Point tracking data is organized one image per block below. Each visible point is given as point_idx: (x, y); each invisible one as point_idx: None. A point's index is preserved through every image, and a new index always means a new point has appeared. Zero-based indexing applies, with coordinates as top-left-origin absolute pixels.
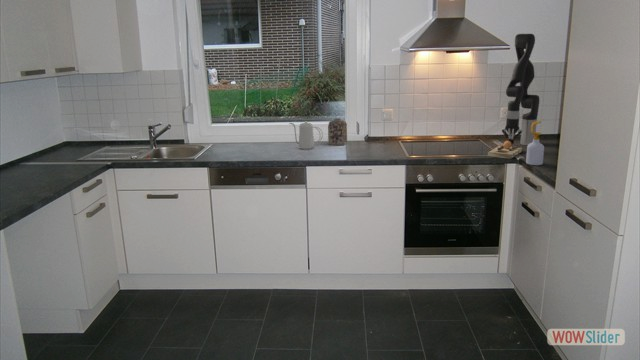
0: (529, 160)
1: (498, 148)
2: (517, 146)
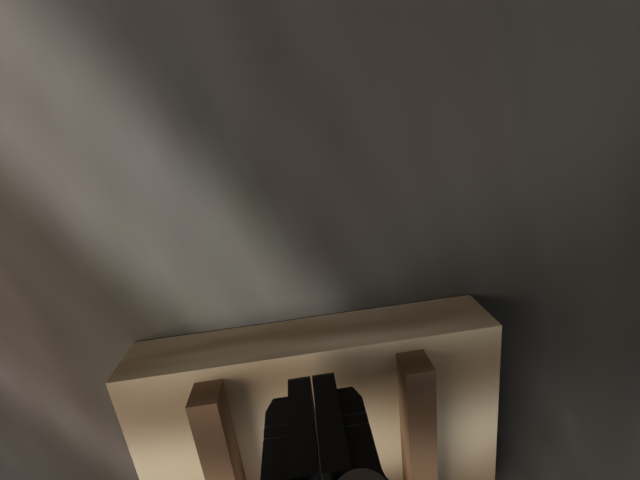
0: None
1: None
2: (427, 358)
